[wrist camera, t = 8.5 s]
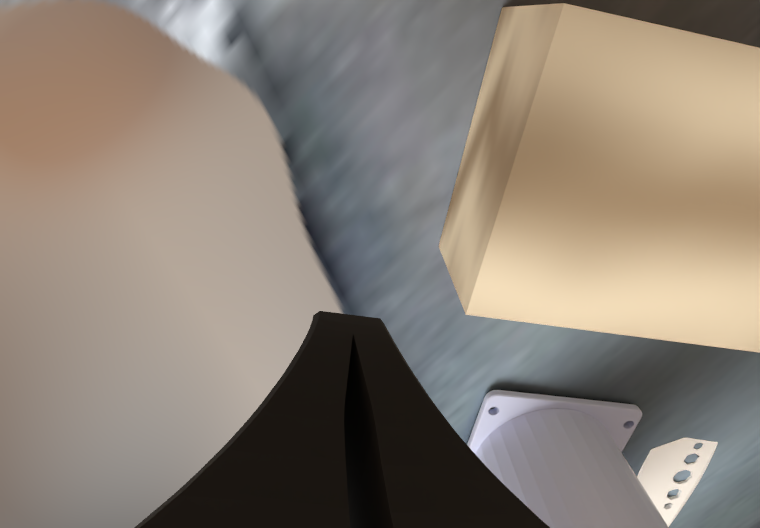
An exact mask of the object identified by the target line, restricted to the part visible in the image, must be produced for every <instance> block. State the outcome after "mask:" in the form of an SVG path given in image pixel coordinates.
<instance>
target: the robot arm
mask: <svg viewBox="0 0 760 528" xmlns="http://www.w3.org/2000/svg"><path fill="white" fill-rule="evenodd" d="M492 407H495V408H494V409H490V408H492ZM641 418H642V411H641V410H640V409H639V407H638V406H637V405H633V404H624V403H615V402H606V401H596V400H587V399H578V398H569V397H559V396H550V395H541V394H532V393H522V392H513V391H504V390H493V391H490V392H488V393H487V394H486V396H485V398H484V400H483V403H482V406H481V408H480V411H479V414H478V417H477V419H476V422H475V425H474V427H473V430H472V433H471V435H470V438H469V441H468V444H467V445H466V443H465V442H464V441H463V440H462V439H461V438H460V436H459V435H458V434H457V433H456V432H455V430H454V429H453V428H452V427H451V425H450V424H449V423H448V421H447V420H446V419H445V418H444V416H443V415H442V414H441V412H440V411H439V410H438V408H437V407H436V406H435V404H434V403H433V401H432V400H431V399H430V397H429V396H428V394H427V393H426V392H425V390H424V389H423V387H422V386H421V384H420V383H419V381H418V380H417V378H416V377H415V375H414V374H413V372H412V371H411V369H410V367H409V366H408V364H407V363H406V361H405V359H404V358H403V356H402V354H401V353H400V351H399V349H398V348H397V346H396V344H395V343H394V341H393V339H392V337H391V335H390V334H389V332H388V330H387V328H386V326H385V325H384V323H383V322H382V320H381V319H379V318H371V317H363V316H355V315H347V314H339V313H331V312H323V311H319V312H318V313H316V314H315V315H314V316H313V321H312V324H311V327H310V329H309V331H308V334H307V335H306V338H305V339H304V341H303V343H302V345H301V347H300V349H299V351H298V352H297V354H296V355H295V357H294V358H293V360H292V362H291V363H290V365H289V366H288V368H287V369H286V371H285V373H284V374H283V376H282V377H281V378H280V380H279V381H278V382H277V384H276V385H275V386H274V388H273V389H272V390H271V392H270V393H269V394H268V396H267V397H266V398H265V400H264V401H263V402H262V404H261V405H260V406H259V407H258V409H257V410H256V411H255V412H254V413H253V415H252V416H251V417H250V418H249V420H247V422H246V423H245V424H244V425H243V426H242V427H241V428H240V430H239V431H238V432H237V433H236V434H235V435H234V436H233V437H232V438H231V439H230V440H229V442H228V443H227V444H226V445H225V446H224V447H223V448H222V449H221V450H220V451H219V452H218V453H217V454H216V455H215V456H214V457H213V458H212V459H211V460H210V461H209V462H208V463H207V464H206V465H205V466H204V467H203V468H202V469H201V470H200V471H199V472H198V473H197V474H196V475H195V476H193V477H192V478H191V479H190V480H189V481H188V482H187V483H186V484H185V485H184V486H183V487H182V488H180V490H178V491H177V492H176V493H175V494H174V495H173V496H172V497H170V498H169V499H168V500H167V501H166V502H164V503H163V504H162V505H161V506H160V507H159V508H157V509H156V510H155V511H154V512H152V513H151V514H150V515H149V516H148V517H147V518H145V519H144V520H143V521H142V522H141V523H139V524H138V525H137V526H136V527H135V528H669V527H668V526H667V524H666V522H665V521H664V519H663V518H662V516H661V514H660V513H659V511H658V510H657V508H656V507H655V505H654V503H653V502H652V500H651V499H650V497H649V495H648V494H647V492H646V491H645V489H644V487H643V486H642V484H641V483H640V481H639V480H638V478H637V476H636V475H635V473H634V472H633V470H632V468H631V467H630V465H629V464H628V462H627V460H626V459H625V457H624V456H623V454H622V451H623V449H624V447H625V446H626V444H627V442H628V440H629V439H630V437H631V435H632V433H633V432H634V430H635V428H636V426H637V425H638V423H639V421H640V419H641Z"/></svg>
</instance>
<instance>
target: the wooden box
mask: <svg viewBox="0 0 760 528" xmlns="http://www.w3.org/2000/svg"><path fill="white" fill-rule="evenodd" d="M439 248H440V251H441V253H442V256H443V258H444V261H445V263H446V266H447V268H448V271H449V273H450V276H451V278H452V281H453V283H454V286H455V288H456V291H457V293H458V296H459V298H460V301H461V303H462V306H463V308H464V311H465V314H466V315H474V316H481V317H489V318H497V319H505V320H512V321H520V322H528V323H535V324H543V325H551V326H559V327H566V328H574V329H582V330H589V331H597V332H605V333H613V334H620V335H628V336H636V337H644V338H651V339H659V340H667V341H674V342H682V343H690V344H698V345H705V346H713V347H721V348H728V349H736V350H744V351H752V352H759V353H760V48H758V47H754V46H749V45H745V44H741V43H736V42H732V41H728V40H723V39H719V38H714V37H710V36H706V35H701V34H697V33H693V32H688V31H684V30H679V29H675V28H671V27H666V26H662V25H658V24H653V23H649V22H645V21H640V20H636V19H631V18H627V17H623V16H618V15H614V14H610V13H605V12H601V11H596V10H592V9H588V8H583V7H579V6H575V5H570V4H566V3H558V4H544V5H529V6H514V7H502V10H501V14H500V17H499V21H498V25H497V29H496V32H495V36H494V40H493V44H492V48H491V51H490V55H489V59H488V63H487V66H486V70H485V74H484V78H483V81H482V85H481V89H480V93H479V96H478V100H477V104H476V108H475V111H474V115H473V119H472V123H471V126H470V130H469V134H468V138H467V141H466V145H465V149H464V153H463V157H462V160H461V164H460V168H459V172H458V175H457V179H456V183H455V187H454V190H453V194H452V198H451V202H450V205H449V209H448V213H447V217H446V220H445V224H444V228H443V232H442V235H441V239H440V243H439Z"/></svg>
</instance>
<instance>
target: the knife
mask: <svg viewBox="0 0 760 528" xmlns="http://www.w3.org/2000/svg"><path fill="white" fill-rule="evenodd" d="M700 442H701V443H702V444H703V445H702V447H701V448H699V449H695V448H693V447H694V445H695V444H696V443H700ZM717 444H718V442H712V441H705V440H698V439H693V438H682V439H679V440H676V441H673V442H670V443H668V444H665V445H662V446H659V447H656V448H653V449H651V450H650V452H649V454H648V456H647V458H646V459H645V461H644V463H643V465H642V467H641V469H640V471H639V473H638V476H637V478H638V480H639V481H640V483H641V484H642V486H643V487H644V489H645V491H646V492H647V494H648V495H649V497H650V499H651V500H652V502H653V503H654V505H655V507H656V508H657V510H658V511H659V513H660V514H661V516H662V518H663V519H664V521H665V522H666V524H667V526H668V527H669V526H670V524H671V523H672V521H673V520H674V519H675V517H676V516H677V514H678V513H679V511H680V510H681V509H682V507H683V506H684V504H685V503H686V501H687V500H688V498H689V497H690V495H691V494H692V492H693V490H694V489H695V487H696V486H697V484H698V483H699V481H700V479H701V477H702V475H703V474H704V472H705V470H706V468H707V466H708V464H709V462H710V460H711V458H712V456H713V454H714V452H715V449H716V447H717ZM694 453H696V455H697V456H698V458H697V459H696V461H695V462H693V463H688V464H686V463H685V462H684V460H685V458H686V456H687V455H690V454H694ZM682 470H688V471H690V473H691V475H690V476H689V477H688V478H687V479H686V480H685V481H681V482H675V481H673V477H674V476H675V474H676V473H677V472H679V471H682ZM674 489H679V492H678V493H677V495H675V496H671V497H668V496H667V494H668V491H671V490H674ZM665 504H669V505H666V506H665Z"/></svg>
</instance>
